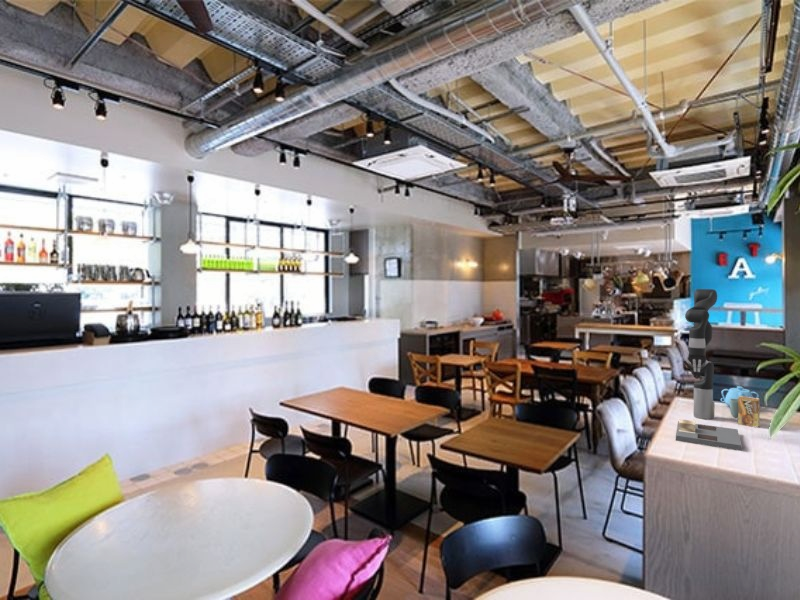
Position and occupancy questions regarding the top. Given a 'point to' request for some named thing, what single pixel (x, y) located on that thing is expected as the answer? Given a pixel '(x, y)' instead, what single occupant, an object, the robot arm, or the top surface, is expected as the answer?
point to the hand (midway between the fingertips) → (696, 378)
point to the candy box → (748, 411)
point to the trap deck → (711, 436)
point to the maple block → (686, 425)
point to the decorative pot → (736, 394)
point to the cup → (734, 407)
